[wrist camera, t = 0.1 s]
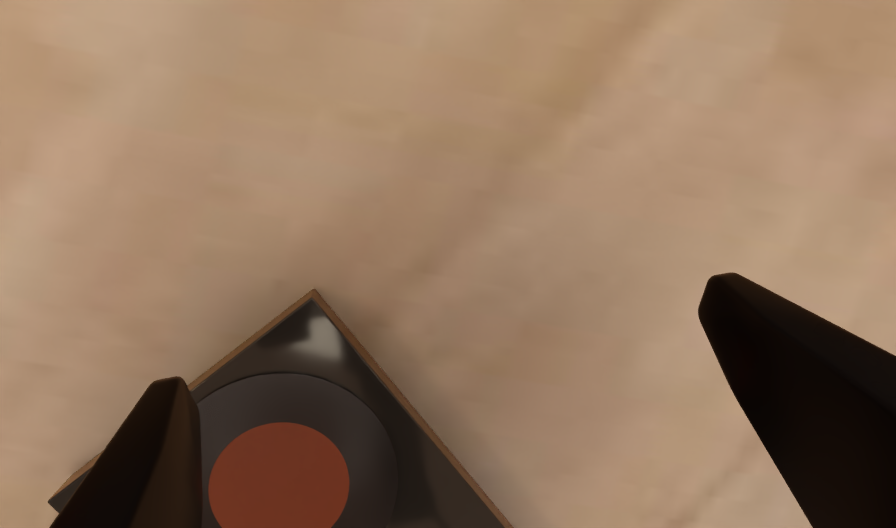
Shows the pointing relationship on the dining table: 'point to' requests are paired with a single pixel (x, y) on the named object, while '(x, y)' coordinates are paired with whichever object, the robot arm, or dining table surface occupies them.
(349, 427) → the burner
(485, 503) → the hob
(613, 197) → the dining table surface
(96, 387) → the dining table surface
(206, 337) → the dining table surface
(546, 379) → the dining table surface
